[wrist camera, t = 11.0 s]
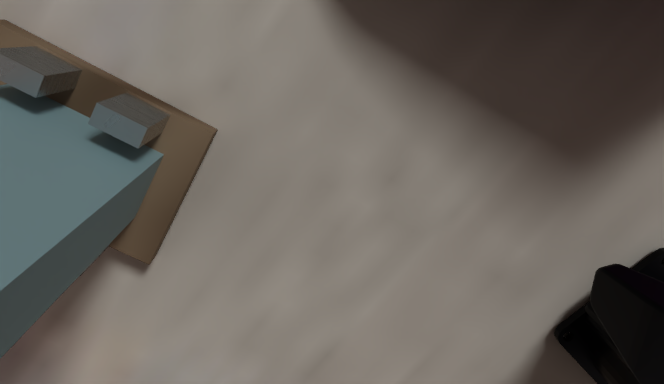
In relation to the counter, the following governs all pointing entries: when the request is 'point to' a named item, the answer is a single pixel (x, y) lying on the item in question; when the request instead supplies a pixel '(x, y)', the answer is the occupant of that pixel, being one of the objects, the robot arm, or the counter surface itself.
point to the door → (58, 202)
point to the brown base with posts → (114, 126)
